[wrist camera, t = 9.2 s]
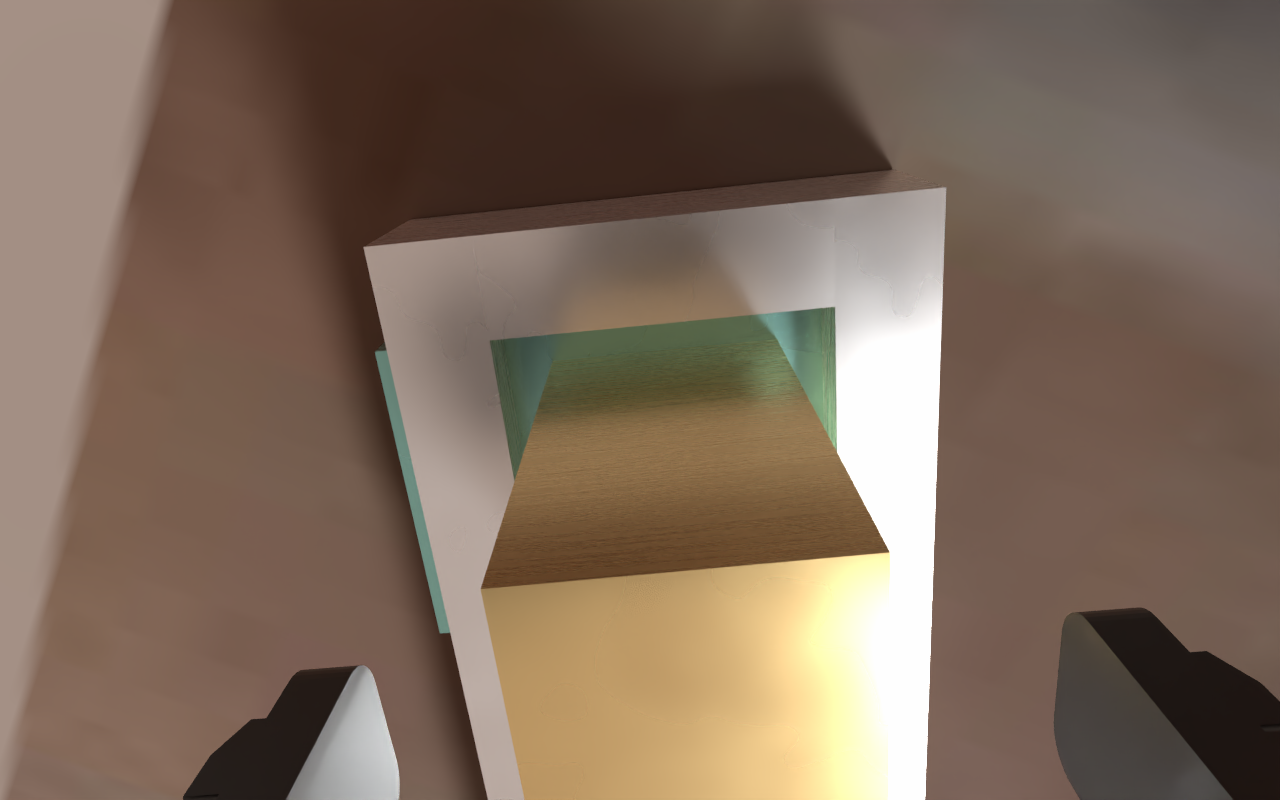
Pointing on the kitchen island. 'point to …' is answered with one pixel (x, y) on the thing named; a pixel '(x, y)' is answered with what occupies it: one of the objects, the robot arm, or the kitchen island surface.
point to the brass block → (689, 589)
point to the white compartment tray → (662, 320)
